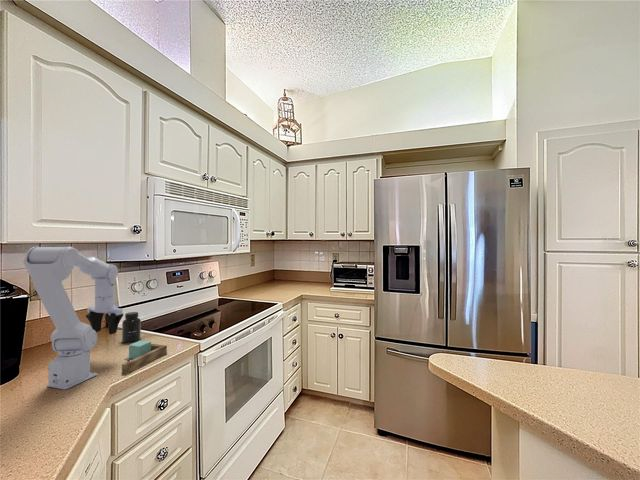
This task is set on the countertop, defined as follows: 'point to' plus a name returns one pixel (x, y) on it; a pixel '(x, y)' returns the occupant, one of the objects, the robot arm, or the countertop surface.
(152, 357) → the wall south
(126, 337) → the supplement bottle
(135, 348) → the cube
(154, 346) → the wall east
